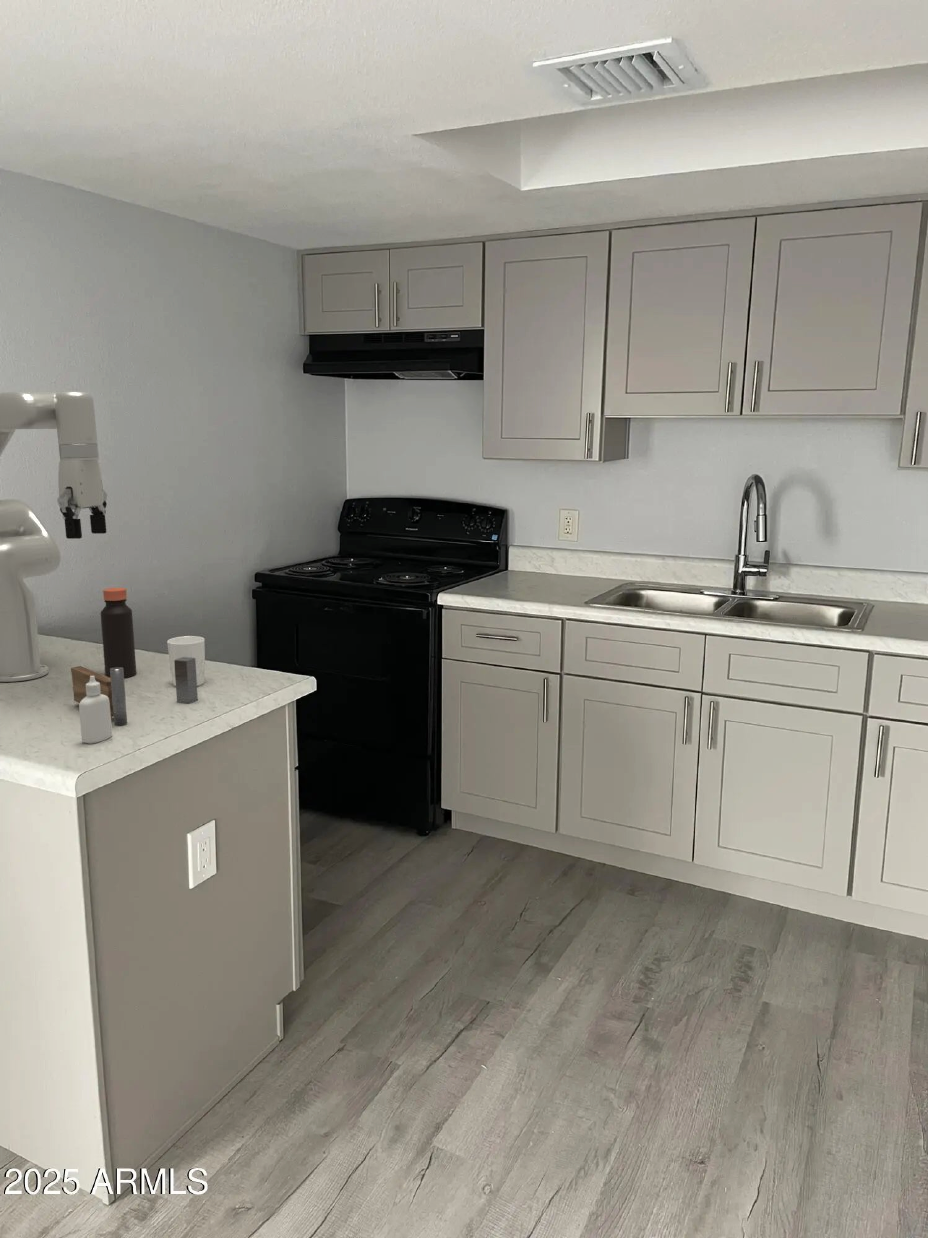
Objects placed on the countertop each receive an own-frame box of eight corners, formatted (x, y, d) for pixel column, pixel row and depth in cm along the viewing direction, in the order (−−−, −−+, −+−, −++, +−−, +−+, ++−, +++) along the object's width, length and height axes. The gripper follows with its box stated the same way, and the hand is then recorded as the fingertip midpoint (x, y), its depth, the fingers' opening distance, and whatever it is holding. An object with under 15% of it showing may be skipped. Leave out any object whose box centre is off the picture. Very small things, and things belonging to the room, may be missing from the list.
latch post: (176, 702, 200) (174, 660, 198) (185, 698, 203) (183, 656, 201) (189, 703, 199) (186, 661, 197) (197, 699, 202) (195, 657, 200)
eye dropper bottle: (78, 739, 177) (72, 676, 175) (109, 733, 180) (104, 671, 178) (84, 745, 174) (78, 681, 171) (116, 739, 177) (111, 676, 174)
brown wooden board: (109, 717, 187) (106, 682, 185) (73, 700, 198) (70, 667, 196) (119, 715, 188) (116, 680, 187) (83, 698, 199) (80, 666, 198)
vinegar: (99, 678, 219) (92, 591, 215) (114, 670, 225) (108, 586, 221) (127, 679, 218) (121, 592, 214) (142, 672, 224) (136, 587, 220)
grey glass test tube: (111, 725, 185) (107, 669, 183) (119, 721, 187) (115, 666, 185) (121, 726, 184) (117, 670, 182) (130, 722, 187) (125, 667, 184)
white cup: (196, 689, 210) (194, 644, 208) (163, 687, 211) (160, 643, 209) (213, 680, 217) (210, 636, 215) (180, 678, 219) (178, 635, 217)
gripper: (84, 452, 208) (92, 531, 211) (37, 454, 191) (46, 540, 194) (116, 451, 206) (124, 531, 210) (73, 453, 190) (81, 540, 193)
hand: (86, 535), depth 202 cm, fingers open, 9 cm apart
